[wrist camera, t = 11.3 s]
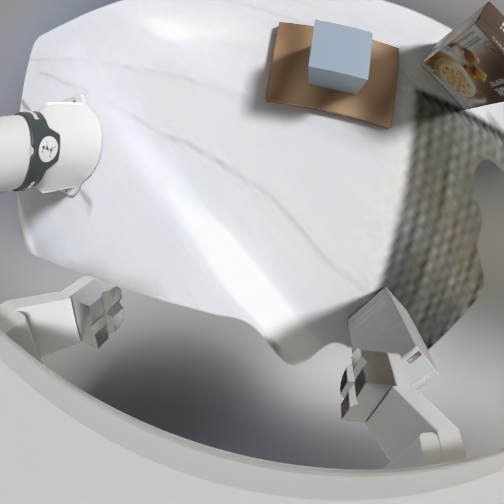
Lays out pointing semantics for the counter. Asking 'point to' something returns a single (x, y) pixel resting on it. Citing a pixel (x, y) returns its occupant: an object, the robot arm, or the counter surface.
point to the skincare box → (392, 336)
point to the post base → (324, 99)
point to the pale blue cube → (339, 57)
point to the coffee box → (472, 59)
